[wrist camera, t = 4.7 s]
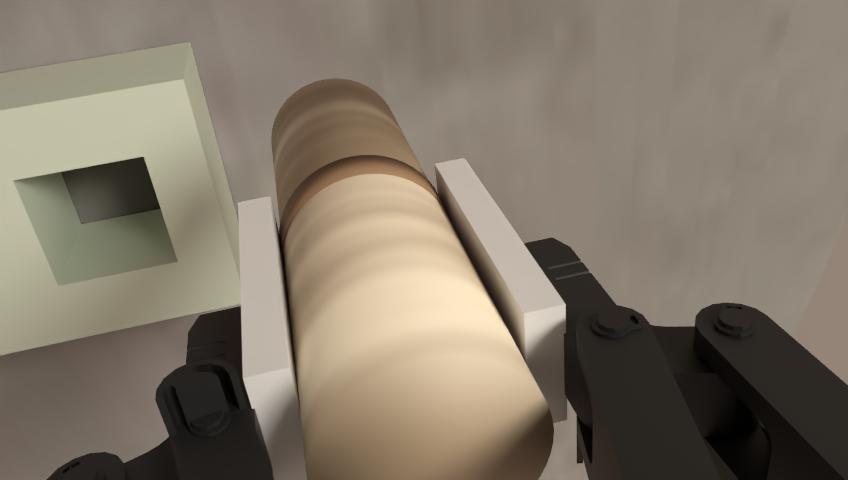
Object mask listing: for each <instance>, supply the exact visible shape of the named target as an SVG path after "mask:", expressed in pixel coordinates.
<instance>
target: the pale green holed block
mask: <svg viewBox="0 0 848 480" xmlns="http://www.w3.org/2000/svg"><path fill="white" fill-rule="evenodd" d="M138 157H144V159H145V162H146V165H147V168H148V171H149V174H150V177H151V181H152V184H153V187H154V190H155V193H156V196H157V199H158V202H159V205H160V208H161V209H157V210H152V211H146V212H141V213H136V214H131V215H126V216H121V217H116V218H110V219H105V220H100V221H95V222H90V223H85V224H81V222H80V220H79V217H78V215H77V212H76V210H75V207H74V204H73V202H72V199H71V197H70V194H69V192H68V189H67V187H66V184H65V181H64V179H63V176H62V174H61V172H62V171H68V170H73V169H79V168H84V167H89V166H95V165H100V164H106V163H111V162H116V161H122V160H127V159H133V158H138ZM237 304H241V291H240V252H239V223H238V219H237V215H236V211H235V208H234V204H233V200H232V197H231V193H230V189H229V185H228V182H227V178H226V174H225V170H224V167H223V163H222V159H221V156H220V152H219V148H218V144H217V141H216V137H215V133H214V130H213V126H212V122H211V118H210V115H209V111H208V107H207V103H206V100H205V96H204V92H203V89H202V85H201V81H200V77H199V74H198V70H197V66H196V63H195V59H194V55H193V51H192V48H191V44H190V42H186V43H180V44H174V45H168V46H162V47H156V48H150V49H144V50H138V51H132V52H126V53H120V54H114V55H107V56H101V57H95V58H89V59H83V60H77V61H71V62H65V63H59V64H53V65H47V66H41V67H35V68H29V69H23V70H17V71H11V72H5V73H0V355H5V354H10V353H14V352H19V351H23V350H28V349H33V348H37V347H42V346H47V345H51V344H56V343H61V342H65V341H70V340H75V339H79V338H84V337H88V336H93V335H98V334H102V333H107V332H112V331H116V330H121V329H126V328H130V327H135V326H140V325H144V324H149V323H153V322H158V321H163V320H167V319H172V318H177V317H181V316H186V315H191V314H195V313H200V312H204V311H209V310H214V309H218V308H223V307H228V306H232V305H237Z"/></svg>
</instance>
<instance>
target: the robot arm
mask: <svg viewBox="0 0 848 480" xmlns="http://www.w3.org/2000/svg"><path fill="white" fill-rule="evenodd" d="M435 172H436V181H437V190H438V195H439V197H440V199H441V201H442V203H443V205H444V206H445V208H446V210H447V212H448V214H449V216H450V219H451V224H452V226H453V228H454V230H455V232H456V233H457V235H458V237H459V239H460V241H461V243H462V245H463V247H464V248H465V250H466V252H467V254H468V256H469V258H470V260H471V261H472V263H473V265H474V267H475V269H476V271H477V273H478V275H479V276H480V278H481V280H482V282H483V284H484V286H485V288H486V290H487V291H488V293H489V295H490V297H491V299H492V301H493V303H494V305H495V306H496V308H497V310H498V312H499V314H500V316H501V318H502V319H503V321H504V323H505V325H506V327H507V329H508V331H509V333H510V334H511V336H512V338H513V340H514V342H515V344H516V346H517V348H518V349H519V351H520V353H521V355H522V357H523V359H524V361H525V362H526V364H527V366H528V368H529V370H530V372H531V374H532V376H533V377H534V379H535V381H536V383H537V385H538V387H539V389H540V391H541V392H542V394H543V396H544V398H545V400H546V402H547V404H548V406H549V408H550V412H551V415H552V419H553V423H556V422H560V421H564V420H567V399H568V400H569V402H570V404H571V405H572V407H573V409H574V411H575V412H576V414H577V463H583V460H584V463H585V467H586V471H587V475H588V478H589V480H848V385H847V384H845V383H844V382H843V381H842V380H841V379H840V378H839V377H837V376H836V375H835V374H834V373H833V372H832V371H830V370H829V369H828V368H827V367H826V366H825V365H824V364H822V363H821V362H820V361H819V360H818V359H817V358H815V357H814V356H813V355H812V354H811V353H810V352H809V351H807V350H806V349H805V348H804V347H803V346H802V345H800V344H799V343H798V342H797V341H796V340H795V339H793V338H792V337H791V336H790V335H789V334H788V333H787V332H785V331H784V330H783V329H782V328H781V327H780V326H778V325H777V324H776V323H775V322H774V321H773V320H772V319H770V318H769V317H768V316H767V315H765V314H764V313H762V312H760V311H759V310H757V309H755V308H752V307H749V306H746V305H743V304H735V303H720V304H712V305H710V306H708V307H706V308H703V309H702V310H701V311H700V312H699V313H698V314H697V315H696V320H695V327H662V326H653V325H650V324H649V322H648V321H647V320H646V319H645V317H644V316H643V315H642V314H640V313H638V312H636V311H635V310H633V309H630V308H626V307H622V306H617V305H616V304H615V303H614V301H613V300H612V299H611V298H610V296H609V295H608V294H607V293H606V291H605V290H604V289H603V288H602V286H601V285H600V284H599V283H598V281H597V280H596V279H595V278H594V276H593V275H592V274H591V273H589V270H588V269H587V268H586V266H585V265H584V264H583V263H581V261H580V259H579V258H578V256H577V255H576V254H575V252H574V251H573V250H572V249H571V247H569V246H567V245H565V244H563V243H562V242H560V241H558V240H556V239H554V238H548V239H543V240H538V241H534V242H529V243H523V242H522V241H521V239H520V238H519V236H518V235H517V233H516V232H515V230H514V229H513V228H512V226H511V225H510V223H509V222H508V220H507V219H506V218H505V216H504V215H503V213H502V212H501V210H500V209H499V207H498V206H497V205H496V203H495V202H494V200H493V199H492V197H491V196H490V194H489V193H488V192H487V190H486V189H485V187H484V186H483V184H482V183H481V182H480V180H479V179H478V177H477V176H476V174H475V173H474V171H473V170H472V169H471V167H470V166H469V164H468V163H467V161H466V160H465V158H462V159H457V160H452V161H447V162H441V163H436V164H435ZM238 212H239V252H240V291H241V306H240V307H235V308H231V309H226V310H221V311H217V312H212V313H207V314H203V315H200V316H199V317H198V319H197V320H196V322H195V323H194V325H193V326H192V328H191V329H190V330H189V332H188V345H187V350H188V352H187V357H186V363H187V364H186V365H184V366H182V367H179V368H177V369H175V370H174V371H173V372H172V373H170V374H169V375H168V376H167V377H165V378H164V379H163V381H162V382H161V384H160V385H159V387H158V388H157V391H156V399H155V400H156V403H157V405H158V408H159V410H160V413H161V415H162V418H163V421H164V423H165V426H166V428H167V431H168V433H169V437H168V438H167V439H166V440H165V441H164V442H162V443H161V444H160V445H159V446H157V447H156V448H154V449H152V450H150V451H149V452H147V453H145V454H143V455H141V456H139V457H137V458H134V459H132V460H130V461H128V462H126V463H123V462H122V461H121V459H120V458H119V457H118V456H116V455H113V454H110V453H106V452H102V453H90V454H87V455H84V456H81V457H78V458H75V459H73V460H71V461H70V462H68V463H66V464H65V465H63V466H61V467H60V468H58V469H57V470H56V471H55V472H54V473H53V474H52V475H51V476H50V477H49V478H48V479H47V480H307V476H306V467H305V457H304V448H303V438H302V429H301V419H300V405H299V396H298V387H297V378H296V369H295V360H294V351H293V343H292V333H291V324H290V314H289V305H288V295H287V286H286V276H285V268H284V264H283V260H282V256H281V247H280V236H279V231H278V227H277V223H276V219H275V215H274V210H273V206H272V202H271V198H270V196H269V197H263V198H258V199H253V200H248V201H243V202H238Z"/></svg>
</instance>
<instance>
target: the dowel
mask: <svg viewBox="0 0 848 480" xmlns="http://www.w3.org/2000/svg"><path fill="white" fill-rule="evenodd" d="M272 152H273V162H274V171H275V181H276V191H277V200H278V210H279V219H280V229H279V236H280V247H281V256H282V260H283V264H284V268H285V276H286V286H287V295H288V305H289V314H290V324H291V333H292V343H293V351H294V360H295V369H296V378H297V387H298V396H299V405H300V419H301V429H302V438H303V448H304V457H305V467H306V476H307V480H538V479H539V477H540V476H541V474H542V472H543V470H544V468H545V466H546V464H547V462H548V459H549V456H550V453H551V449H552V444H553V435H554V427H553V419H552V415H551V412H550V408H549V406H548V404H547V402H546V400H545V398H544V396H543V394H542V392H541V391H540V389H539V387H538V385H537V383H536V381H535V379H534V377H533V376H532V374H531V372H530V370H529V368H528V366H527V364H526V362H525V361H524V359H523V357H522V355H521V353H520V351H519V349H518V348H517V346H516V344H515V342H514V340H513V338H512V336H511V334H510V333H509V331H508V329H507V327H506V325H505V323H504V321H503V319H502V318H501V316H500V314H499V312H498V310H497V308H496V306H495V305H494V303H493V301H492V299H491V297H490V295H489V293H488V291H487V290H486V288H485V286H484V284H483V282H482V280H481V278H480V276H479V275H478V273H477V271H476V269H475V267H474V265H473V263H472V261H471V260H470V258H469V256H468V254H467V252H466V250H465V248H464V247H463V245H462V243H461V241H460V239H459V237H458V235H457V233H456V232H455V230H454V228H453V226H452V224H451V219H450V216H449V214H448V212H447V210H446V208H445V206H444V205H443V203H442V201H441V199H440V197H439V195H438V193H437V192H436V190H435V188H434V187H433V186H432V184H431V183H430V181H429V180H428V179H427V177H426V175H425V174H424V172H423V170H422V168H421V166H420V164H419V162H418V160H417V159H416V157H415V155H414V153H413V151H412V149H411V147H410V146H409V144H408V142H407V140H406V138H405V136H404V134H403V132H402V131H401V129H400V127H399V125H398V123H397V121H396V119H395V117H394V116H393V114H392V112H391V110H390V108H389V106H388V105H387V104H386V102H385V101H384V100H383V99H382V98H381V97H380V96H379V95H378V94H377V93H376V92H375V91H373V90H372V89H370V88H369V87H367V86H365V85H363V84H361V83H358V82H355V81H351V80H346V79H325V80H321V81H317V82H314V83H311V84H309V85H306V86H305V87H303V88H301V89H299V90H298V91H297V92H295V93H294V94H293V95H292V96H291V97H290V98H289V99H287V101H286V102H285V103H284V104H283V106H282V107H281V109H280V110H279V112H278V114H277V116H276V119H275V121H274V125H273V128H272Z"/></svg>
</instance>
